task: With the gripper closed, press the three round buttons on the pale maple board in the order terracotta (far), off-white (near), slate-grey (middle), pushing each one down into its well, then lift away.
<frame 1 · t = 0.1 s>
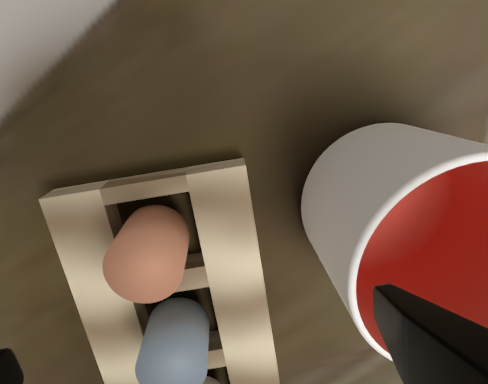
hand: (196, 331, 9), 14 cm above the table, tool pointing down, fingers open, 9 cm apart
cup: (369, 194, 24), on the table
button slate: (175, 344, 22), point 4 cm above the table, slide at 0.0 cm
button terracotta: (150, 250, 20), point 4 cm above the table, slide at 0.0 cm
board: (182, 306, 25), on the table
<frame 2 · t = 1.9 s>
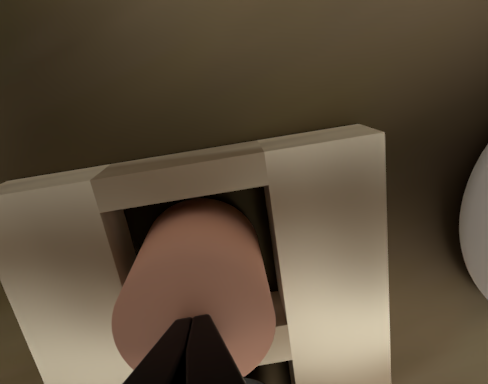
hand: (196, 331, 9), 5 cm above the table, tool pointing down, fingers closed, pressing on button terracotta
button terracotta: (199, 283, 11), point 3 cm above the table, slide at 1.2 cm, touching gripper
board: (231, 380, 15), on the table
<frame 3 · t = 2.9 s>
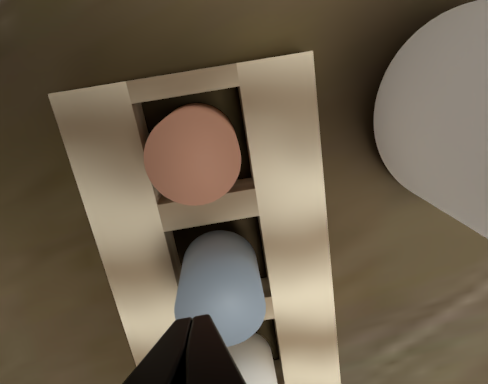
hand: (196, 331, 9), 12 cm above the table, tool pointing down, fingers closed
cup: (451, 107, 19), on the table
button slate: (220, 284, 17), point 4 cm above the table, slide at 0.0 cm
button terracotta: (195, 150, 16), point 2 cm above the table, slide at 1.3 cm
board: (219, 248, 21), on the table
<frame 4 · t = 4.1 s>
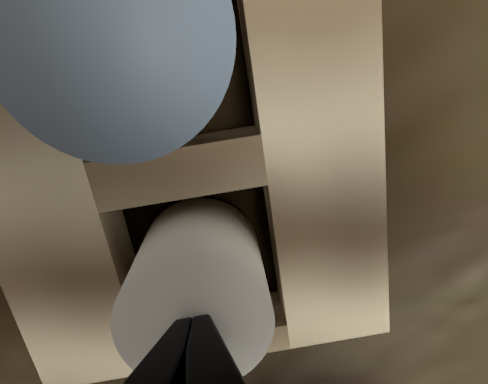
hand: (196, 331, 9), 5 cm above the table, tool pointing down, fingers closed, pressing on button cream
button slate: (135, 47, 7), point 4 cm above the table, slide at 0.0 cm
button cream: (198, 282, 11), point 3 cm above the table, slide at 1.3 cm, touching gripper
board: (163, 57, 11), on the table
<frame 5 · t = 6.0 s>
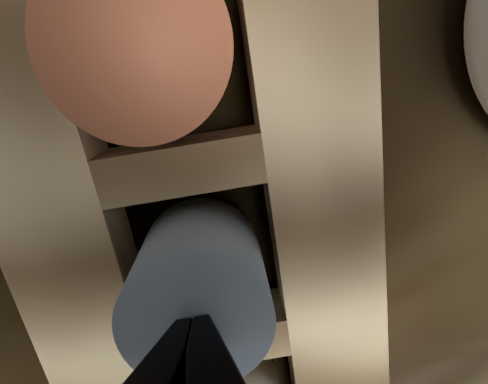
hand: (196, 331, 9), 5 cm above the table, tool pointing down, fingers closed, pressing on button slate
button slate: (199, 282, 11), point 3 cm above the table, slide at 1.0 cm, touching gripper
button terracotta: (150, 53, 9), point 2 cm above the table, slide at 1.3 cm
board: (203, 241, 13), on the table
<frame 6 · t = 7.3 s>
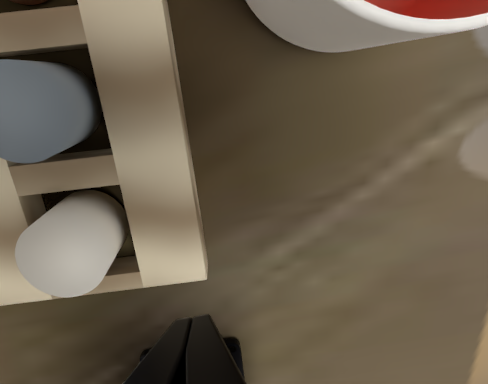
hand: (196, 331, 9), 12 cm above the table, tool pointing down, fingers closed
button slate: (41, 108, 16), point 2 cm above the table, slide at 1.4 cm
button cream: (78, 239, 18), point 2 cm above the table, slide at 1.4 cm
board: (64, 104, 18), on the table
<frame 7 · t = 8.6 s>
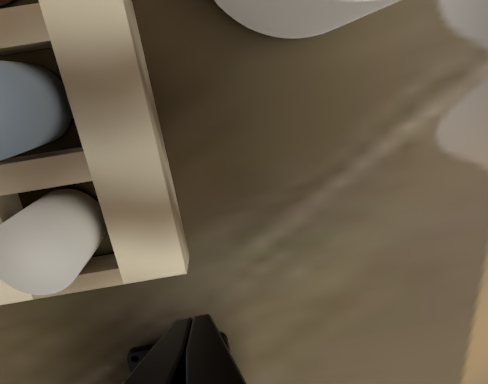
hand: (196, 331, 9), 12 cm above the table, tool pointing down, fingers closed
button slate: (8, 107, 16), point 2 cm above the table, slide at 1.4 cm
button cream: (54, 238, 18), point 2 cm above the table, slide at 1.4 cm
board: (35, 104, 18), on the table
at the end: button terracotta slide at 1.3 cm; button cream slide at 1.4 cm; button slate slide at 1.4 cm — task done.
